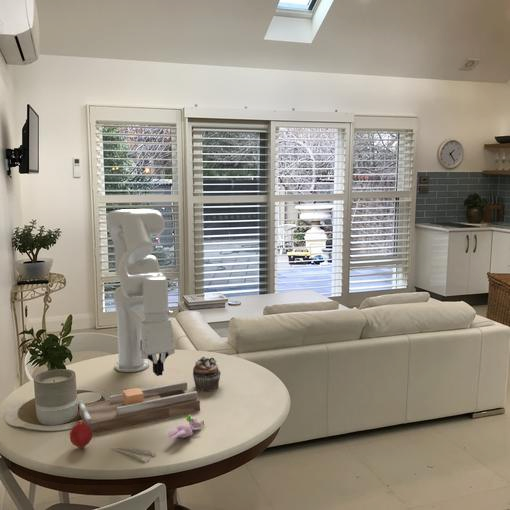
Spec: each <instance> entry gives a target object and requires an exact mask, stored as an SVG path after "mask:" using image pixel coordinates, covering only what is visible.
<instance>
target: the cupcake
mask: <svg viewBox="0 0 510 510" xmlns="http://www.w3.org/2000/svg"><path fill="white" fill-rule="evenodd" d="M192 378H193V381H194V385H195V389H197V391H200V390H203V391H202V392H209V390H212V391H215V390H217V389H218V388H219V384H220V378H221V371H220V369H219V366H218V364H217V360H216V359H215V358H213V357H211V358H206V357H205V356H202V357H201V358H200V359H197V361H195V365H194V367H193V369H192ZM216 388H217V389H216ZM214 389H215V390H214Z"/></svg>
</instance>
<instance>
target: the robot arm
mask: <svg viewBox="0 0 510 510" xmlns="http://www.w3.org/2000/svg"><path fill="white" fill-rule="evenodd" d="M106 226H107V230H108V233H109V235H110V237H111V240H112V244H113V247H114V262H115V273H116V277H117V279H118V280H119V284H120V286H119V287H116V289H114V291H113V302H114V308H115V312H116V313H115V315H116V326H117V327H116V328H117V347H118V349H117V351H118V361H117V362H116V363H115V364H114V369H115V370H116V371H119V372H121V373H123V372H124V373H134V372H140V371H142V370H145V369H147V368H148V367H149V366H150V362H151V363H152V372H153V374H154V375H156V377H159V376H163V372H165V370H164V368H165V367H164V363H165V362H166V360H167V358H168V357H169V356H171V355H174V354H175V353H176V352H175V345H176V344H175V336H174V335H175V333H174V328H173V324H172V320H171V318H170V317H171V316H173V315H174V312H173V310H169V288H168V287H169V285H168V279H167V276H165V274H164V273H163V272H160V271H161V270H160V269H161V268H160V264H159V260H158V258H157V256H155V255H153V254H151V253H153V251H154V244H153V241H152V237H151V236H155V235H156V236H157V235H162V234H163V233H164V230H165V227H166V226H165V219H164V216H163V215H162V213H161V212H160V210H157V209H153V208H130V209H129V208H126V209H125V208H124V209H115V210H111V211H110V212H109V213H107V216H106ZM140 310H143V318H142V317H141V316H140V314H138V312H137V311H140ZM157 355H158V357H157ZM149 361H150V362H149Z"/></svg>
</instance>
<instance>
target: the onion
mask: <svg viewBox="0 0 510 510" xmlns="http://www.w3.org/2000/svg"><path fill="white" fill-rule="evenodd" d="M69 439H70V443H72V445H73V446H75V447H77V448H79V449H84V448H85V447H86V446H87V445H89V443H90V442H91V441H92V439H93V433H92V430H91V428H90V426H89V425H87V424H86V423H84V422H83V421H82V419H80V420H79V421H78V422H77V423H76V424H75V425H74V426H73V427H72V428H71V430H70V432H69Z"/></svg>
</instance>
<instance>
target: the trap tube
mask: <svg viewBox="0 0 510 510" xmlns="http://www.w3.org/2000/svg"><path fill="white" fill-rule="evenodd" d="M140 390H141V391H142V392H143V396H144V402H140V403H135V404H130V405H125V404H124V403H123V393H119V394H113V395H110V396H109V399H105V400H100V401H94V402H90V403H89V402H88V403H85V402H84V401H83V400H78V409H79V410H78V412H79V417H80V416H81V417H80V419H81V418H82V419H81V420H83V422H84V423H86V424H87V425H89V426H90V428H91V430H92V434H96V433H100V432H104V431H108V430H112V429H118V428H123V427H127V426H132V425H136V424H141V423H145V422H146V423H147V422H150V420H151V421H155V420H158V419H159V420H160V419H164V418H167V417H172V416H177V415H178V416H179V415H182V414H187V413H191V411H192V412H195V410H196V411H199V410H200V409H201V402H200V401H201V400H200V399H199V398H198V392H197V391H198V390H195V391H191V390H190V389H189V388H188V382H187V381H181V382H175V383H171V384H170V383H169V384H164V385H161V386H160V385H159V386H155V387H150V388H144V389H140Z"/></svg>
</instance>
